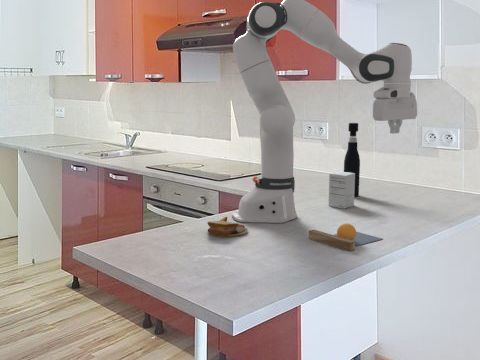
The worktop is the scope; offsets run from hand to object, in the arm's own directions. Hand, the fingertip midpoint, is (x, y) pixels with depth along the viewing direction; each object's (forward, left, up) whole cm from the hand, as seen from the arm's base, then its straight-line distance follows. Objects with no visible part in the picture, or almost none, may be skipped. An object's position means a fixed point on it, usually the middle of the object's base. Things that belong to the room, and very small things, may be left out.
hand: (394, 133), depth 190 cm
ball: (-26, -29, -26) cm, 47 cm away
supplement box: (-12, +18, -29) cm, 36 cm away
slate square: (-23, -26, -29) cm, 45 cm away
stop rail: (-31, -31, -29) cm, 53 cm away
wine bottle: (-2, +36, -29) cm, 46 cm away
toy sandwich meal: (-60, -15, -30) cm, 68 cm away
